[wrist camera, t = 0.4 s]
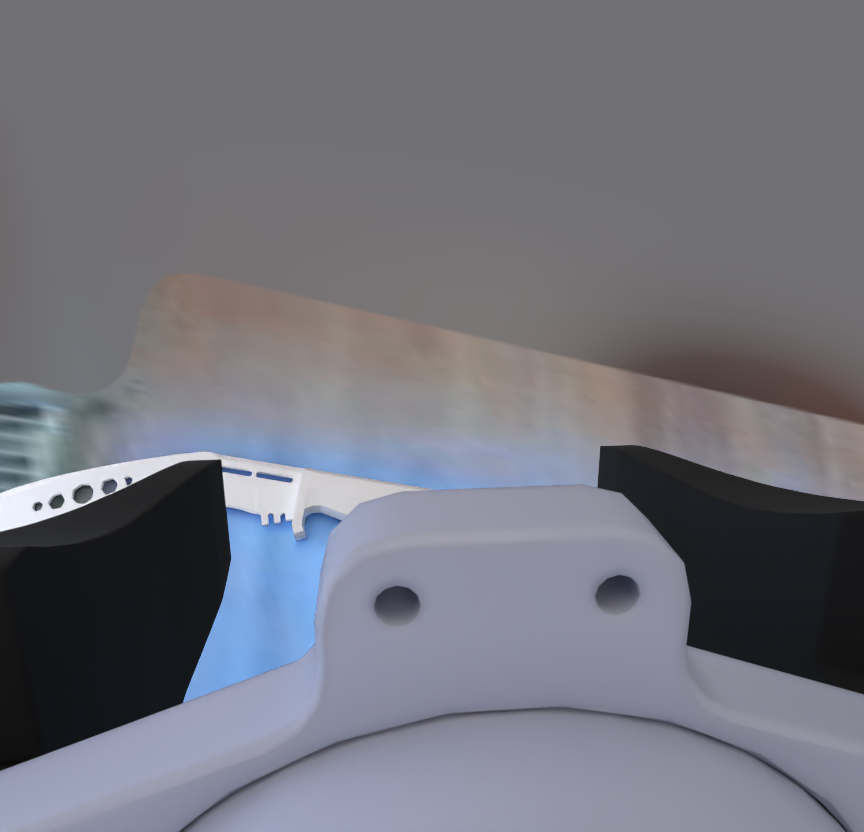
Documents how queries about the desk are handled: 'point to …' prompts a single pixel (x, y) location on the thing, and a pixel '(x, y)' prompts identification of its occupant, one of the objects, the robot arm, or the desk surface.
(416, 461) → the desk surface
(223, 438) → the desk surface
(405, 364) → the desk surface
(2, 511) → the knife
